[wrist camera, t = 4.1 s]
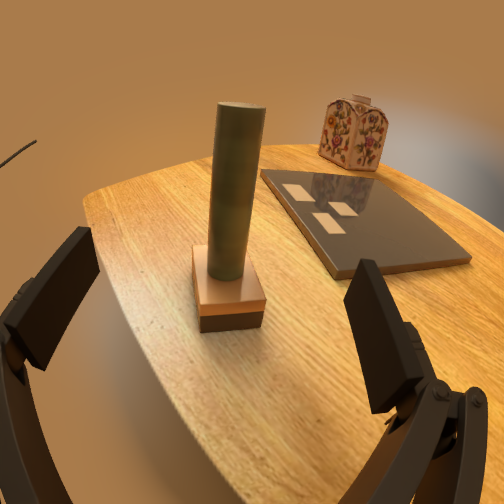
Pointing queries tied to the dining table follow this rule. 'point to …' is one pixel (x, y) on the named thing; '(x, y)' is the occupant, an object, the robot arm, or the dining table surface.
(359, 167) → the decorative jar
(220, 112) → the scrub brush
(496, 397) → the dining table surface
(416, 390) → the robot arm
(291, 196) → the tile
